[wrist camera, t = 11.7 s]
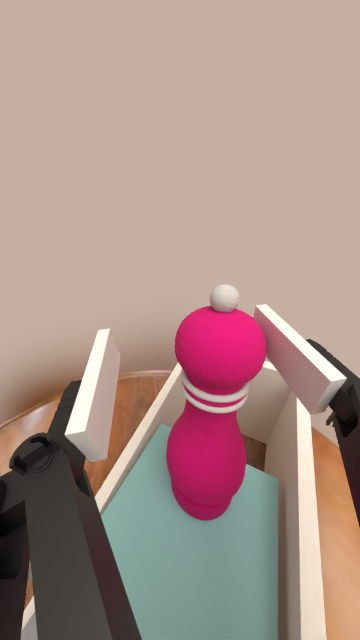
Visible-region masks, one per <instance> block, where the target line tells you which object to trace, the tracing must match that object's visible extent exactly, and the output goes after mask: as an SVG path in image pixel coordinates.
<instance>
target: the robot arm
mask: <svg viewBox="0 0 360 640" xmlns="http://www.w3.org/2000/svg"><path fill="white" fill-rule="evenodd" d="M254 319H255V320H256V322H257V323H258V324H259V325H260V327H261V329H262V330H263V333H264V336H265V339H266V356H267V358H268V359H269V360H270V362H271V363H272V364H273V366H274V367H275V368H276V370H277V371H278V372H279V374H280V375H281V376H282V378H283V379H284V380H285V382H286V383H287V384H288V386H289V387H290V388H291V390H292V391H293V392H294V394H295V395H296V396H297V398H298V399H299V400H300V402H301V403H302V404H303V406H304V407H305V408H306V410H307V411H308V412H309V414H310V415H312V414H317V413H321V412H324V411H325V410H326V408H327V407H328V405H329V406H330V408H331V409H332V410H333V412H332V414H331V415H330V416H329V418H328V419H327V421H326V425H329V424H330V423H331V422H332V421H333V427H334V428H335V432H336V436H337V439H338V444H339V448H340V452H341V456H342V460H343V463H344V467H345V471H346V475H347V479H348V483H349V487H350V491H351V495H352V499H353V503H354V507H355V511H356V515H357V519H358V522H359V526H360V378H358V377H357V376H356V375H355V374H353V373H352V372H351V371H350V370H349V369H348V368H347V367H345V366H344V365H343V364H342V363H341V362H340V361H338V360H337V359H336V358H335V357H333V355H331V354H330V353H329V352H327V350H326V349H325V348H323V347H322V346H321V345H320V344H318V343H316V342H314V341H313V340H311V339H307V340H304V339H303V338H302V337H301V336H300V335H299V334H298V333H297V332H296V331H295V330H293V329H292V328H291V327H290V326H289V325H288V324H287V323H286V322H284V320H283V319H281V318H280V317H279V316H278V315H277V314H276V313H275V312H274V311H273V310H271V308H269V307H268V306H267V305H266V304H264V305H257V306H256V308H255V313H254ZM119 365H120V354H119V352H118V349H117V346H116V343H115V341H114V338H113V335H112V333H111V330H110V329H103V330H98V333H97V336H96V340H95V342H94V346H93V349H92V352H91V355H90V358H89V361H88V364H87V367H86V370H85V373H84V376H83V380H79V381H73V382H71V383H70V384H69V386H68V387H67V388H66V389H65V390H64V393H63V395H62V398H61V400H60V401H61V402H60V403H59V405H58V408H57V410H56V413H55V415H54V418H53V420H52V423H51V425H50V428H49V430H48V433H38V434H35V435H33V436H31V437H29V438H28V439H26V440H25V441H24V442H23V443H21V445H20V446H19V447H18V448H17V449H16V450H15V452H14V454H13V455H12V457H11V459H10V464H9V468H11V469H12V471H10V472H8V473H6V474H4V475H2V476H1V477H0V640H21V631H22V622H23V613H24V605H25V596H26V587H27V578H28V569H29V561H30V562H31V572H32V583H33V594H34V604H35V615H36V626H37V636H38V640H142V638H141V635H140V632H139V629H138V626H137V623H136V620H135V617H134V614H133V611H132V608H131V605H130V602H129V599H128V596H127V593H126V590H125V587H124V584H123V581H122V578H121V575H120V572H119V569H118V566H117V563H116V560H115V557H114V554H113V551H112V548H111V545H110V542H109V539H108V536H107V533H106V530H105V527H104V524H103V521H102V518H101V515H100V512H99V509H98V506H97V503H96V500H95V497H94V494H93V491H92V488H91V485H90V482H89V479H88V476H87V473H86V471H85V469H84V463H85V459H87V460H88V461H89V462H95V461H99V460H104V459H107V453H108V446H109V439H110V431H111V424H112V417H113V409H114V402H115V395H116V387H117V380H118V372H119Z"/></svg>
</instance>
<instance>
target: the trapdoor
mask: <svg viewBox="0 0 360 640" xmlns="http://www.w3.org/2000/svg"><path fill="white" fill-rule="evenodd" d="M171 429H172V428H171V427H168V426H166V425H164V424H162V423H161V425H160V426H159V428H158V429H157V431H156V433H155V434H154V436H153V437H152V439H151V440H150V442H149V443H148V445H147V447H146V448H145V450H144V451H143V453H142V454H141V456H140V457H139V459H138V460H137V462H136V464H135V465H134V467H133V468H132V470H131V471H130V473H129V474H128V476H127V477H126V479H125V481H124V482H123V484H122V485H121V487H120V488H119V490H118V491H117V493H116V494H115V496H114V498H113V499H112V501H111V502H110V504H109V505H108V507H107V508H106V510H105V511H104V513H103V515H102V516H101V518H102V521H103V524H104V527H105V530H106V533H107V536H108V539H109V542H110V545H111V548H112V551H113V554H114V557H115V560H116V563H117V566H118V569H119V572H120V575H121V578H122V581H123V584H124V587H125V590H126V593H127V596H128V599H129V602H130V605H131V608H132V611H133V614H134V617H135V620H136V623H137V626H138V629H139V632H140V635H141V638H142V640H278V479H277V478H275V477H273V476H271V475H269V474H267V473H265V472H262V471H260V470H258V469H256V468H254V467H252V466H250V465H248V464H246V469H245V476H244V479H243V482H242V485H241V486H240V488H239V490H238V491H237V493H236V494H235V495H234V496H233V497H232V500H231V503H230V505H229V507H228V509H227V510H226V511H225V512H224V513H223V514H222V515H221V516H220V517H218V518H216V519H213V520H207V521H203V520H199V519H196V518H194V517H192V516H190V515H188V514H187V513H186V512H185V511H184V510H183V509H182V508H181V507H180V505H179V504H178V502H177V501H176V499H175V497H174V494H173V491H172V486H171V476H170V474H169V471H168V467H167V462H166V450H167V441H168V437H169V434H170V432H171ZM21 640H38V636H37V626H36V615H35V612H34V613H33V615H32V616H31V618H30V619H29V621H28V622H27V624H26V625H25V627H24V628H23V630H22V631H21Z"/></svg>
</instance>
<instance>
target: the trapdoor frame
mask: <svg viewBox="0 0 360 640" xmlns="http://www.w3.org/2000/svg"><path fill="white" fill-rule="evenodd" d="M181 370H182V367H181V366H180V364H179V362H178V364H177V365H176V367H175V369H174V370H173V372H172V373H171V375H170V377H169V378H168V380H167V382H166V383H165V385H164V386H163V388H162V390H161V391H160V393H159V394H158V396H157V398H156V399H155V401H154V402H153V404H152V406H151V407H150V409H149V411H148V412H147V414H146V415H145V417H144V419H143V420H142V422H141V423H140V425H139V427H138V428H137V430H136V432H135V433H134V435H133V436H132V438H131V440H130V441H129V443H128V444H127V446H126V448H125V449H124V451H123V452H122V454H121V456H120V457H119V459H118V461H117V462H116V464H115V465H114V467H113V469H112V470H111V472H110V473H109V475H108V477H107V478H106V480H105V482H104V483H103V485H102V486H101V488H100V490H99V491H98V493H97V494H96V496H95V500H96V503H97V506H98V509H99V512H100V515H101V516H102V515H103V513H104V511H105V510H106V508H107V507H108V505H109V504H110V502H111V501H112V499H113V498H114V496H115V494H116V493H117V491H118V490H119V488H120V487H121V485H122V484H123V482H124V481H125V479H126V477H127V476H128V474H129V473H130V471H131V470H132V468H133V467H134V465H135V464H136V462H137V460H138V459H139V457H140V456H141V454H142V453H143V451H144V450H145V448H146V447H147V445H148V443H149V442H150V440H151V439H152V437H153V436H154V434H155V433H156V431H157V429H158V428H159V426H160V425H161V423H162V424H164V425H166V426H168V427H171V428H172V427H173V425H174V423H175V422H176V420H177V419H178V418H179V417H180V416H181V414H182V413H183V411H184V408H185V402H186V397H185V396H184V394H183V392H182V390H181V384H180V383H181ZM250 382H251V384H250V389H249V391H248V398H247V400H246V402H245V404H244V405H243V406H242V407H240V408H239V409H237V415H236V416H237V422H238V425H239V428H240V431H241V434H243V435H245V436H248V437H250V438H252V439H255V440H257V441H260V442H262V443H264V444H266V455H265V465H264V472H265V473H267V474H269V475H271V476H273V477H275V478H277V479H278V640H326V628H325V614H324V600H323V587H322V573H321V559H320V546H319V532H318V518H317V505H316V491H315V477H314V463H313V450H312V436H311V423H310V414H309V412H308V411H307V410H306V408H305V407H304V406H303V404H302V403H301V402H300V400H299V399H298V398H297V396H296V395H295V394H294V392H293V391H292V390H291V388H290V387H289V386H288V384H287V383H286V382H285V380H284V379H283V378H282V376H281V375H280V374H279V372H278V371H277V370H276V368H275V367H274V366H273V364H272V363H271V362H267V361H265V362H264V364H263V367H262V369H261V370H260V372H259V373H258V374H257V375H256V376H255V377H254V378H253V379H252V380H250ZM28 578H29V579H30V580H31V582H32V572H31V567H30V569H29V572H28ZM34 612H35V604H34V596H33V598H32V599H31V601H30V602H29V604H28V606H27V607H26V609H25V611H24V613H23V622H22V630H23V628H24V627H25V625H26V624H27V622H28V621H29V619H30V618H31V616H32V615H33V613H34Z"/></svg>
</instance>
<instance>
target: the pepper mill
mask: <svg viewBox="0 0 360 640" xmlns="http://www.w3.org/2000/svg"><path fill="white" fill-rule="evenodd" d="M238 303H239V294H238V292H237V290H236V289H235V288H234V287H233V286H230V285H225V284H223V285H219V286H217V287H216V288H215V289H213V291H212V293H211V295H210V304H211V306H207V307H203V308H200V309H198V310H195V311H194V312H192V313H191V314H189V315H188V316H187V317H186V318H185V319H184V320H183V321H182V323H181V324H180V326H179V328H178V331H177V334H176V338H175V354H176V358H177V361H178V362H179V364H180V366H181V367H182V370H181V383H180V384H181V390H182V392H183V394H184V396H185V397H186V402H185V408H184V411H183V413H182V414H181V416H180V417H179V418H178V419H177V420H176V422H175V423H174V425H173V427H172V429H171V432H170V434H169V437H168V441H167V450H166V462H167V467H168V471H169V474H170V476H171V486H172V491H173V494H174V497H175V499H176V501H177V502H178V504H179V505H180V507H181V508H182V509H183V510H184V511H185V512H186V513H187V514H188V515H190V516H192V517H194V518H196V519H199V520H203V521H207V520H213V519H216V518H218V517H220V516H221V515H222V514H223V513H224V512H225V511H226V510H227V509H228V507H229V505H230V503H231V500H232V497H233V496H234V495H235V494H236V493H237V491H238V490H239V488H240V486H241V485H242V482H243V479H244V476H245V469H246V450H245V444H244V440H243V436H242V434H241V431H240V428H239V425H238V422H237V416H236V415H237V409H239V408H240V407H242V406H243V405H244V404H245V402H246V400H247V398H248V391H249V389H250V384H251V382H250V380H252V379H253V378H254V377H255V376H256V375H257V374H258V373H259V372H260V370H261V369H262V367H263V364H264V362H265V357H266V339H265V336H264V333H263V330H262V329H261V327H260V325H259V324H258V323H257V322H256V320H255V319H254V318H252V317H251V316H250V315H248V314H247V313H244V312H243V311H241V310H238V309H236V307H237V305H238Z"/></svg>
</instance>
